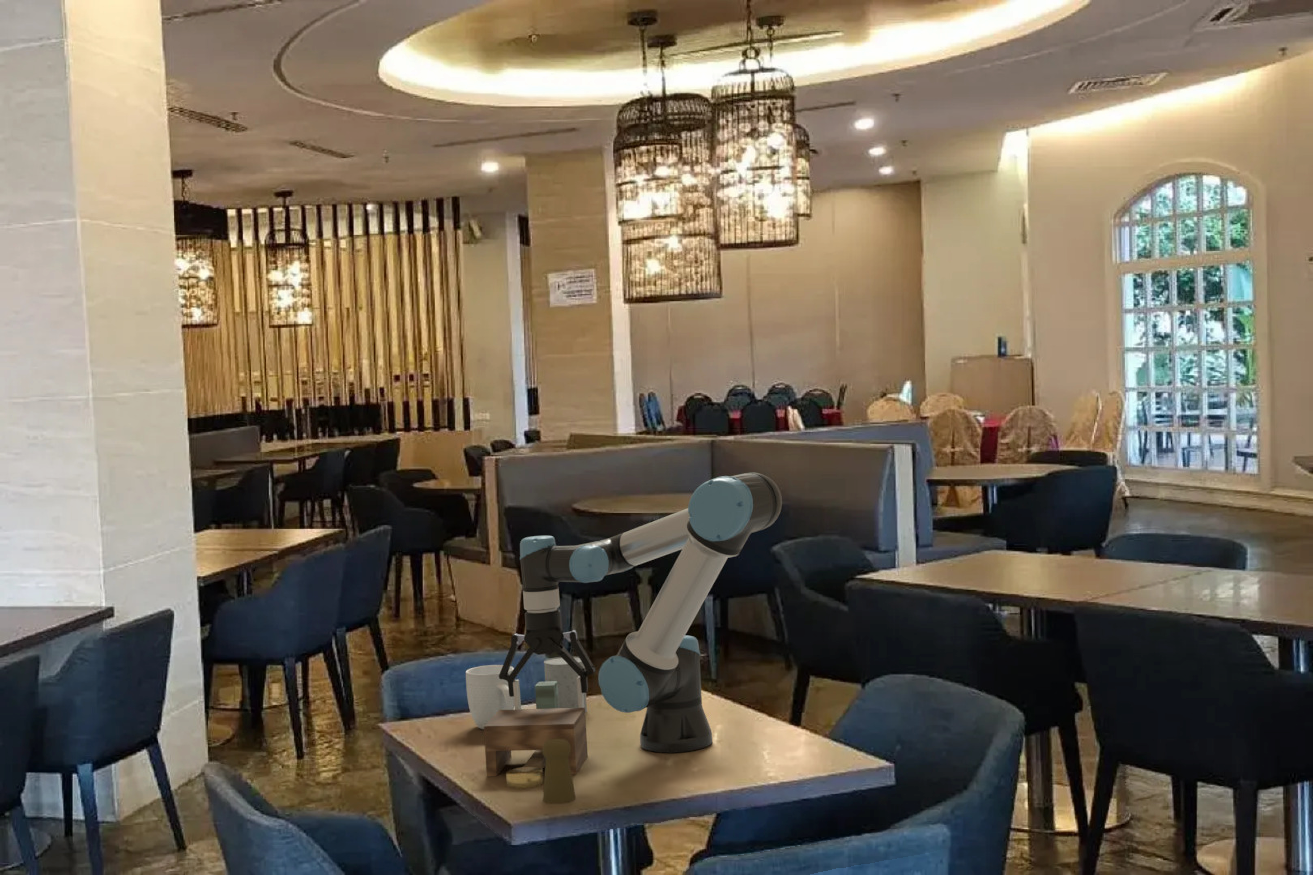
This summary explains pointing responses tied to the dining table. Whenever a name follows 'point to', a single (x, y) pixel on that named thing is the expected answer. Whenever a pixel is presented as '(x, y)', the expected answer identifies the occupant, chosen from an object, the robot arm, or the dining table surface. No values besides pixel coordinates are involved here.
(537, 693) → the sweep tool
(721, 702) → the dining table surface
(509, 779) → the token
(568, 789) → the cork
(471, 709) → the mug
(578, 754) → the wooden bench
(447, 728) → the dining table surface
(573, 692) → the speckled white cylinder
